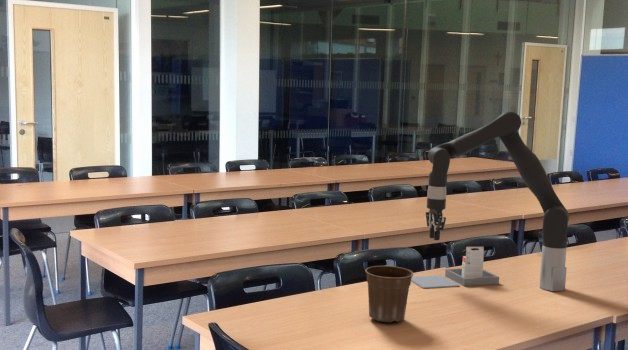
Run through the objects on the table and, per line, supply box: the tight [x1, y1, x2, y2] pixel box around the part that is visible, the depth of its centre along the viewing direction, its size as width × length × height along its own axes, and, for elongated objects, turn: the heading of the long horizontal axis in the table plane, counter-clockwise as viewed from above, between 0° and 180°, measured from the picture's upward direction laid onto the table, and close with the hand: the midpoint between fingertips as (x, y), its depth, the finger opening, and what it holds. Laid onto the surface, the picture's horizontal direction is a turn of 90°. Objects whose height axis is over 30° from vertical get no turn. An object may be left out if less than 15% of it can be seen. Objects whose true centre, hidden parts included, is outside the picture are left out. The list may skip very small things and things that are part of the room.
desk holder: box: [444, 267, 500, 287], centre depth 294 cm, size 16×16×3 cm
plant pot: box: [365, 265, 414, 323], centre depth 241 cm, size 16×16×16 cm
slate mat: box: [411, 274, 460, 290], centre depth 289 cm, size 16×16×1 cm
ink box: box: [461, 246, 485, 278], centre depth 293 cm, size 4×8×15 cm, turn 97°
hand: (434, 238), depth 287 cm, fingers open, 3 cm apart
